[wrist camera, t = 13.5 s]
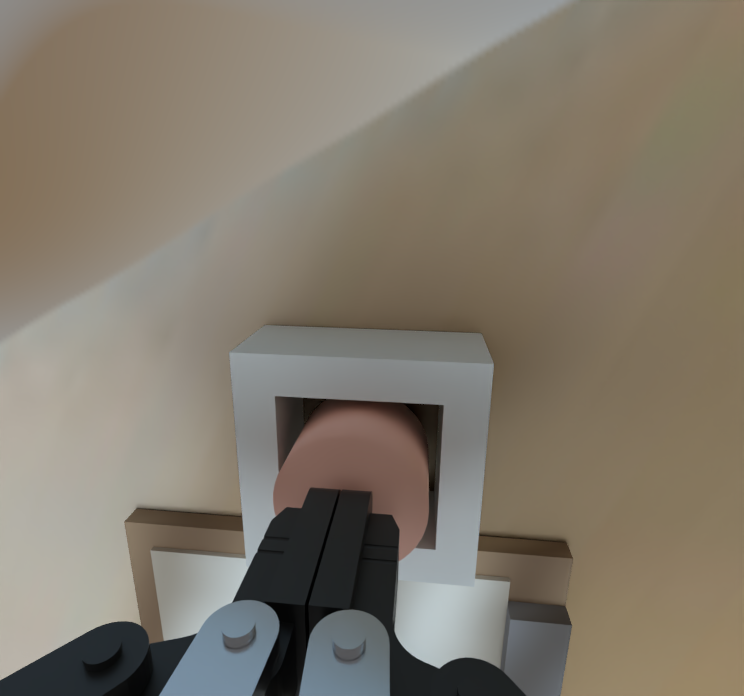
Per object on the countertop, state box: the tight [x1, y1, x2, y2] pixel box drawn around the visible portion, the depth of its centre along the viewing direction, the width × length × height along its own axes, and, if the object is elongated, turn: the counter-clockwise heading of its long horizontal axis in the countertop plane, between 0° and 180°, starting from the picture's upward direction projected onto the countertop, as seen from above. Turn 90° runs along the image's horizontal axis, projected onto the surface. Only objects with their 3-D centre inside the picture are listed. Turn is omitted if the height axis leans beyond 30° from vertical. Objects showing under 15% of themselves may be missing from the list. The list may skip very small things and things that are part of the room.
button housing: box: [229, 325, 494, 587], centre depth 15 cm, size 7×7×3 cm
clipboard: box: [124, 509, 573, 696], centre depth 19 cm, size 16×12×2 cm
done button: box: [273, 399, 429, 561], centre depth 14 cm, size 4×4×3 cm
